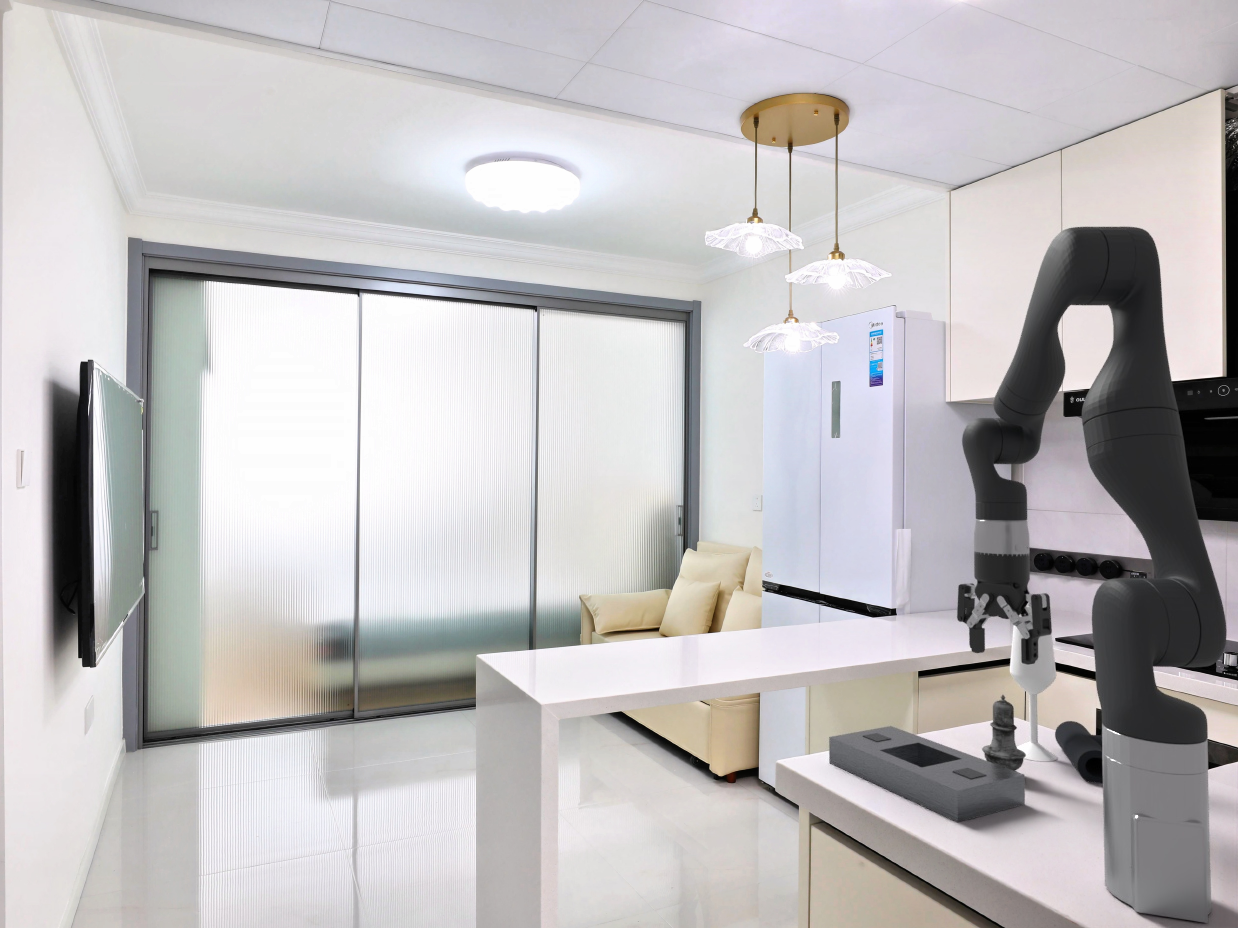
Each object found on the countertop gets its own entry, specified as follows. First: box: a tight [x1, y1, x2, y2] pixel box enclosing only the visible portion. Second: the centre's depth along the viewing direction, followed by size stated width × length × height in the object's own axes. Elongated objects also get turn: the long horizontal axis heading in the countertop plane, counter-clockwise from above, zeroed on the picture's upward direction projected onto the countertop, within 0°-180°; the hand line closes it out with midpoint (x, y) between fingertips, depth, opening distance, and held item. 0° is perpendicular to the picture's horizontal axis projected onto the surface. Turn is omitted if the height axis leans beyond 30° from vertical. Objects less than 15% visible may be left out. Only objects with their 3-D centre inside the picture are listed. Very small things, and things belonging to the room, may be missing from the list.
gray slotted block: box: [828, 725, 1026, 823], centre depth 113 cm, size 24×13×4 cm, turn 26°
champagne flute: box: [1009, 603, 1058, 762], centre depth 126 cm, size 7×7×24 cm
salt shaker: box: [981, 694, 1026, 772], centre depth 116 cm, size 6×6×12 cm
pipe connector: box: [1054, 720, 1103, 784], centre depth 119 cm, size 12×5×15 cm
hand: (1002, 657), depth 116 cm, fingers open, 8 cm apart
